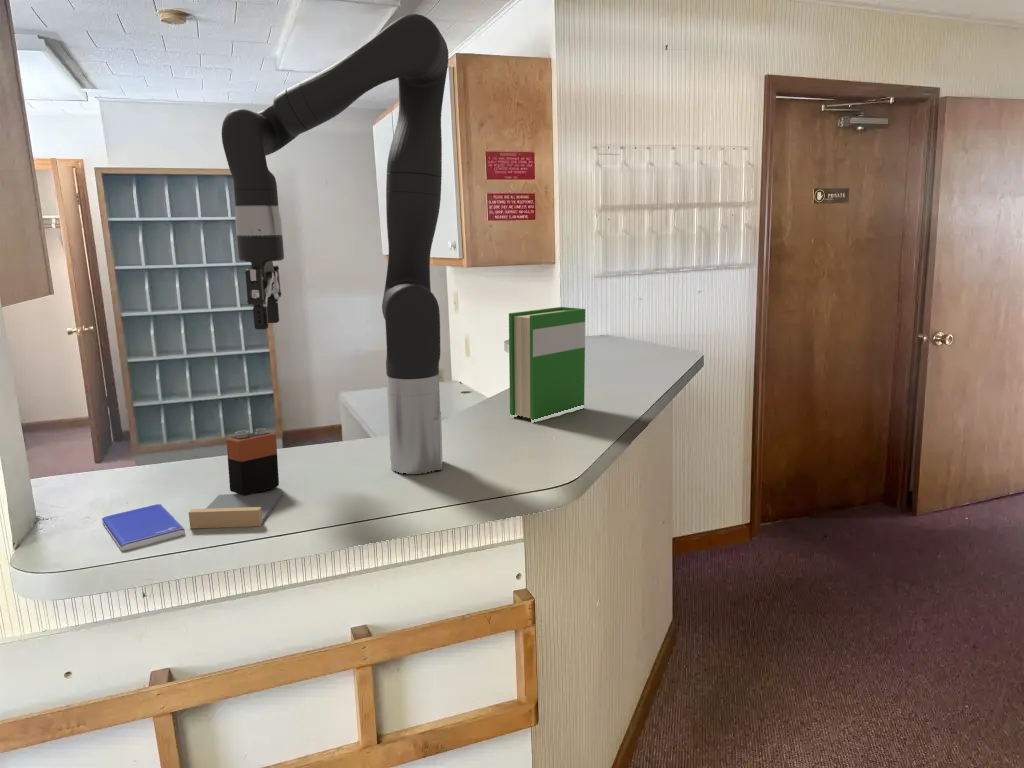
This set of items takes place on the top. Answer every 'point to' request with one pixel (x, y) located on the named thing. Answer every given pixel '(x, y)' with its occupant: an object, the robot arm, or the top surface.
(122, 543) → the hard drive
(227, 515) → the dough scraper
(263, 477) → the battery
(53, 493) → the top surface
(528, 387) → the hardback book
